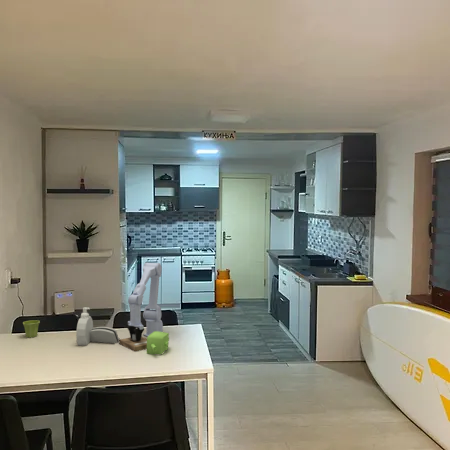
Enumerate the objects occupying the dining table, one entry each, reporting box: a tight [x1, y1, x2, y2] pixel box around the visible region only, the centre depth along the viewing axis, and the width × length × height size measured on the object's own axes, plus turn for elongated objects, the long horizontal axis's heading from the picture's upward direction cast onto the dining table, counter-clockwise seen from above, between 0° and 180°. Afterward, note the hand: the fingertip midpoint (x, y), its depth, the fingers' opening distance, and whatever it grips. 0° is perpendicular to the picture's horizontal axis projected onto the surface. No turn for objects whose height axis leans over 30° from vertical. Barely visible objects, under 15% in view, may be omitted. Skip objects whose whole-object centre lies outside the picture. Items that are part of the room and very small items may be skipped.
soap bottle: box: [75, 307, 94, 346], centre depth 250 cm, size 16×5×20 cm, turn 1°
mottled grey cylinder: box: [132, 333, 137, 342], centre depth 246 cm, size 4×4×6 cm
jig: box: [118, 335, 147, 352], centre depth 245 cm, size 13×18×3 cm
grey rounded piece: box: [90, 326, 120, 344], centre depth 251 cm, size 17×5×10 cm, turn 77°
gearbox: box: [146, 331, 170, 355], centre depth 233 cm, size 18×10×10 cm, turn 167°
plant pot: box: [22, 320, 41, 338], centre depth 262 cm, size 9×9×9 cm
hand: (135, 339), depth 246 cm, fingers open, 6 cm apart
